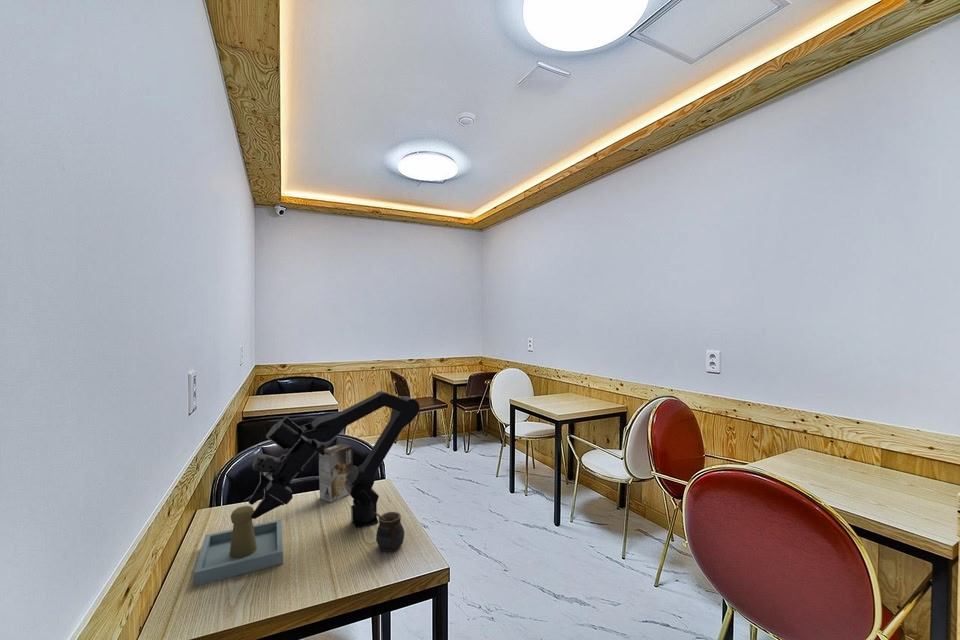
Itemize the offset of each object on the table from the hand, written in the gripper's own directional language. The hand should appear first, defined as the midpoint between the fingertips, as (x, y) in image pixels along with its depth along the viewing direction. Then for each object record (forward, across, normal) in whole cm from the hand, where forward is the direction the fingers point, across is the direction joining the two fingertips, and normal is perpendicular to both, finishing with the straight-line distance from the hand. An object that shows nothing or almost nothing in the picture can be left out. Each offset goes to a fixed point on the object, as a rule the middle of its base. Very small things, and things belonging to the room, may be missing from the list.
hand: (251, 510), depth 106 cm
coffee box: (-11, -22, +26) cm, 36 cm away
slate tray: (+9, 0, +6) cm, 11 cm away
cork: (+8, 0, +6) cm, 10 cm away
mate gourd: (-14, +17, +29) cm, 37 cm away
